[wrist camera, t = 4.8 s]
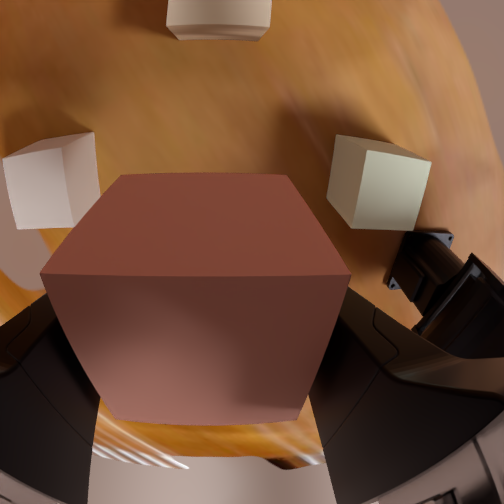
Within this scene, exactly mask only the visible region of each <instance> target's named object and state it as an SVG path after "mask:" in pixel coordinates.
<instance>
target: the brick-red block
mask: <svg viewBox="0 0 504 504" xmlns="http://www.w3.org/2000/svg"><path fill="white" fill-rule="evenodd" d="M40 276H41V279H42V281H43V284H44V287H45V289H46V292H47V294H48V297H49V299H50V301H51V304H52V306H53V309H54V311H55V313H56V315H57V318H58V320H59V322H60V324H61V326H62V328H63V330H64V332H65V335H66V337H67V339H68V341H69V343H70V345H71V346H72V348H73V350H74V352H75V354H76V356H77V358H78V360H79V361H80V363H81V365H82V367H83V369H84V370H85V372H86V374H87V376H88V377H89V379H90V381H91V382H92V384H93V386H94V387H95V389H96V390H97V392H98V394H99V395H100V397H101V398H102V400H103V401H104V403H105V404H106V406H107V407H108V409H109V410H110V412H111V413H112V415H113V416H114V418H115V419H119V420H127V421H136V422H146V423H158V424H175V425H242V424H259V423H272V422H283V421H292V420H297V418H298V416H299V414H300V411H301V409H302V407H303V405H304V402H305V400H306V398H307V395H308V393H309V391H310V388H311V386H312V384H313V381H314V379H315V376H316V374H317V371H318V369H319V366H320V364H321V361H322V359H323V356H324V353H325V351H326V348H327V346H328V343H329V340H330V337H331V335H332V332H333V329H334V326H335V323H336V321H337V318H338V315H339V312H340V309H341V306H342V303H343V300H344V297H345V294H346V290H347V287H348V284H349V281H350V277H351V273H350V271H349V269H348V268H347V266H346V265H345V263H344V261H343V260H342V258H341V256H340V255H339V253H338V252H337V250H336V248H335V247H334V245H333V244H332V242H331V240H330V239H329V237H328V236H327V234H326V233H325V231H324V230H323V228H322V226H321V225H320V223H319V222H318V220H317V219H316V217H315V216H314V214H313V213H312V211H311V210H310V208H309V207H308V205H307V204H306V202H305V201H304V199H303V198H302V196H301V195H300V193H299V192H298V191H297V189H296V188H295V186H294V185H293V183H292V182H291V180H290V179H289V178H288V176H287V175H278V174H253V173H155V174H131V175H121V176H120V177H119V178H118V179H117V180H116V181H115V182H114V183H113V184H112V185H111V186H110V187H109V188H108V189H107V190H106V191H105V193H104V194H103V195H102V196H101V197H100V198H99V199H98V200H97V201H96V202H95V204H94V205H93V206H92V207H91V208H90V209H89V210H88V212H87V213H86V214H85V215H84V216H83V217H82V219H81V220H80V221H79V222H78V223H77V225H76V226H75V227H74V228H73V229H72V231H71V232H70V233H69V234H68V236H67V237H66V238H65V239H64V241H63V242H62V243H61V245H60V246H59V247H58V248H57V250H56V251H55V252H54V254H53V255H52V256H51V258H50V259H49V261H48V262H47V263H46V265H45V266H44V267H43V269H42V270H41V272H40Z"/></svg>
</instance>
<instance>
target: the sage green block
mask: <svg viewBox="0 0 504 504" xmlns="http://www.w3.org/2000/svg"><path fill="white" fill-rule="evenodd" d="M430 166H431V162H430V161H428V160H426V159H424V158H422V157H420V156H418V155H416V154H414V153H412V152H410V151H408V150H406V149H404V148H402V147H400V146H397V145H395V144H392V143H387V142H382V141H376V140H370V139H365V138H358V137H352V136H345V135H338V134H336V138H335V145H334V152H333V159H332V166H331V172H330V179H329V185H328V191H327V197H326V199H327V200H328V201H329V202H330V203H331V205H332V206H333V207H334V208H335V209H336V211H337V212H338V213H339V214H340V215H341V217H342V218H343V219H344V220H345V222H346V223H347V224H348V225H349V226H350V228H351V229H380V230H405V231H413V229H414V226H415V223H416V219H417V216H418V213H419V209H420V206H421V202H422V198H423V195H424V191H425V187H426V183H427V179H428V175H429V171H430Z"/></svg>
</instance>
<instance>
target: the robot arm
mask: <svg viewBox="0 0 504 504" xmlns="http://www.w3.org/2000/svg"><path fill="white" fill-rule="evenodd" d="M409 235H410V236H409ZM453 238H454V235H453V234H452V233H451V232H440V231H424V230H413V231H406V232H405V234H404V237H403V240H402V243H401V246H400V249H399V252H398V255H397V258H396V261H395V264H394V267H393V269H392V272H391V275H390V277H389V280H388V283H387V287H388V288H389V289H390V290H395V289H402V291H403V292H404V294H405V295H406V296H407V298H408V299H409V301H410V302H413V303H414V304H415V306H416V307H417V309H418V310H419V312H420V313H421V315H422V316H424V317H423V318H422V319H421V320H420V321H419V322H418V323H417V325H414V327H413V328H412V329H411V330H412V331H411V330H410V329H408V328H406V327H405V326H403V325H402V324H400V323H399V322H397V321H396V320H394V319H393V318H391V317H390V316H389V315H387V314H386V313H384V312H383V311H382V310H380V309H379V308H377V307H376V308H375V305H373V304H372V303H371V302H369V301H368V300H366V299H365V298H364V297H362V296H361V295H359V294H358V293H357V292H355V291H354V290H352V289H351V288H350V287H347V290H346V294H345V297H344V300H343V303H342V306H341V309H340V312H339V315H338V318H337V321H336V323H335V326H334V329H333V332H332V335H331V337H330V340H329V343H328V346H327V348H326V351H325V353H324V356H323V359H322V361H321V364H320V366H319V369H318V371H317V374H316V376H315V379H314V381H313V384H312V386H311V388H310V391H309V393H308V395H309V399H310V402H311V406H312V410H313V413H314V417H315V421H316V425H317V428H318V432H319V436H320V440H321V443H322V447H323V448H324V449H323V452H324V455H325V459H326V463H327V467H328V471H329V475H330V479H331V483H332V486H333V490H334V494H335V498H336V502H337V504H370V503H373V502H376V501H379V504H504V282H503V281H502V280H501V279H500V278H499V277H498V276H497V275H496V274H495V273H494V272H493V271H492V270H491V269H490V268H489V267H488V266H487V265H486V264H485V263H484V262H482V261H481V260H480V259H479V258H478V257H477V256H475V255H474V254H473V253H471V254H470V256H469V257H468V258H469V259H468V260H467V262H466V263H465V264H464V263H463V262H462V261H461V260H460V259H459V258H458V257H457V256H456V255H455V254H454V253H453V252H452V251H451V250H450V246H451V244H452V241H453ZM99 402H100V395H99V394H98V392H97V390H96V389H95V387H94V386H93V384H92V382H91V381H90V379H89V377H88V376H87V374H86V372H85V370H84V369H83V367H82V365H81V363H80V361H79V360H78V358H77V356H76V354H75V352H74V350H73V348H72V346H71V345H70V343H69V341H68V339H67V337H66V335H65V332H64V330H63V328H62V326H61V324H60V322H59V320H58V318H57V315H56V313H55V311H54V309H53V306H52V304H51V301H50V299H49V297H48V294H47V293H46V294H44V295H43V296H42V297H40V298H39V299H37V300H36V301H35V302H33V303H32V304H31V305H30V306H28V307H26V308H25V309H24V310H23V311H21V312H20V313H19V314H17V315H16V316H14V317H13V318H12V319H10V320H9V321H8V322H6V323H5V324H3V325H2V326H0V504H57V503H60V504H87V502H88V486H89V475H90V465H91V456H92V446H93V439H94V432H95V426H96V419H97V413H98V408H99Z"/></svg>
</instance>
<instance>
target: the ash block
mask: <svg viewBox="0 0 504 504" xmlns="http://www.w3.org/2000/svg"><path fill="white" fill-rule="evenodd" d="M271 4H272V0H169V1H168V10H167V21H166V26H167V27H168V29H169V30H170V31H171V32H172V33H173V34H174V35H175V36H176V37H177V38H178V39H179V40H202V39H218V40H246V41H258V40H259V39H260V38H261V37H262V36H263V34H264V33H265V32H266V31H267V30H268V29H269V28H270V17H271Z"/></svg>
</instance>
